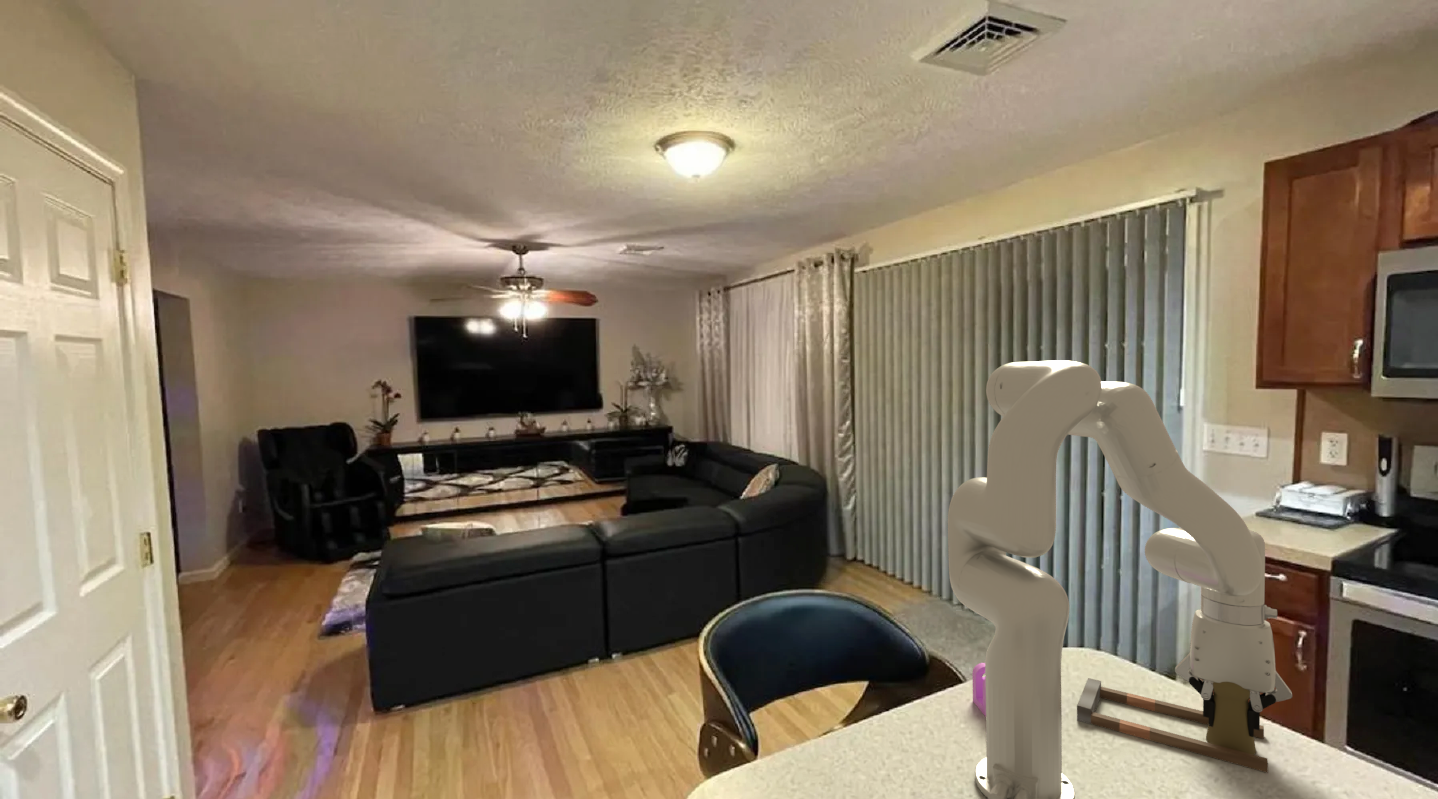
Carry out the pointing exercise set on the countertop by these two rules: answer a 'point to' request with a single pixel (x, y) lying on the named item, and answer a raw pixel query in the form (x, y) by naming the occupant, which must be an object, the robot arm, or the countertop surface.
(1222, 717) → the cork
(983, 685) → the bracket
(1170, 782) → the countertop surface
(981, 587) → the robot arm
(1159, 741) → the guide channel
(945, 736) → the countertop surface
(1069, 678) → the countertop surface
